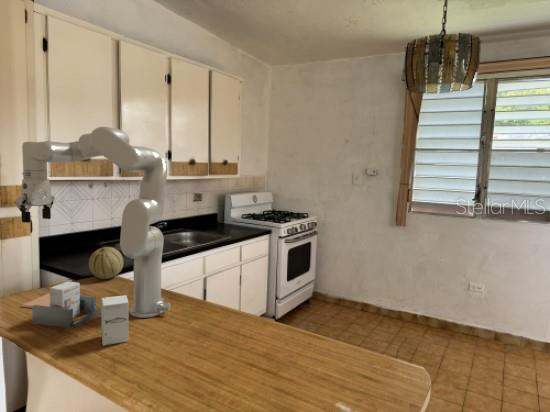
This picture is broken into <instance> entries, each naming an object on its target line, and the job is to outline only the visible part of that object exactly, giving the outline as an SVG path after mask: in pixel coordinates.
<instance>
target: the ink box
mask: <svg viewBox="0 0 550 412" xmlns="http://www.w3.org/2000/svg"><path fill="white" fill-rule="evenodd" d="M80 287H81V284H80V282H76V281H69V280H67V281H65V282H61V283H59V284H56V285H54V286H51V287H50V289H49V293H50V306H51V307H60V308H69V309H73V318H75V317H77V316H79V315H80V314H81V312H80V295H81V290H80V289H81V288H80Z"/></svg>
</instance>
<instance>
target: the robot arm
mask: <svg viewBox="0 0 550 412" xmlns="http://www.w3.org/2000/svg"><path fill="white" fill-rule="evenodd" d="M130 142H131V141H130V138H129V135H128V134H127V132H126V131H123V130H122V129H119V128H115V127H114V128H113V127H109V126H100V127H96V128H94V129H93V130H92V131H91V132H90V133H83V134H81V135H80V137H79V138H78V141H73V142H72V141H71V142H60V141H59V142H58V141H24V142H23V143H22V147H21V149H22V174H21V175H22V179H21V180H22V182H21V187H20V196H19V197H18V198H16V199H15V200H14V202H15V204H16V207H17V208H18V209H19V212H21V213H20V214H21V222H22V223H28V224H29V223H31V221H32V220H31V211H30V210H31V208H32V207H39V206H40V207H41V206H42V210H41V213H42V214H41V215H42V219H43V220H51V218H52V212H51V211H52V210H51V209H53V205H54V201H55V199H56V197H55V196H54V195H52V187H51V183H50V180H49V178H48V163H62V164H63V163H66V164H67V163H75V162H80V161H85V160H89V159H91V158H96V157H102V156H103V157H104V158H105V159H107V160H108V161H110V162H111V163H113V164H114V165H115V166H117V167H118V168H120V169H122V170H123V171H126V172H143V176H142V179H141V181H140V185H139V194H138V195H139V196H138V198H136V199H135V198H134V199H132V200H130V201H128V203H126V205H125V207H124V208H123V211H122V215H121V216H122V217H121V228H120V238H119V246H120V250H121V252H122V253H123V255H124V256H126V257H127V258H128V259H133V260H134V261H133V305H132V306H131V307H130V308H129V315H130V316H132V317H134V318H138V319H139V318H141V319H142V318H143V319H146V318H147V319H149V318H154V317H158V316H160V315H162V314H163V313H165V311H170V310H171V307H172V305H171V302H165V299H164V297H162V258H163V250H164V243H165V241H164V240H165V239H164V235H163V232H162V231H161V229H159V228H158V227H156V226H152V224H155V223H158V222H159V221H160V220H161V219H162V217H163V215H164V205H165V197H166V186H167V185H166V184H167V177H168V166H167V163H166V161H165V159H164V157H163V156H162V155H161V154H160V153H159V152H158V151H157V150H155V149H152V148H149V147H146V146H145V147H144V146H135V145H131V144H130Z"/></svg>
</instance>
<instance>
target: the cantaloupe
mask: <svg viewBox="0 0 550 412" xmlns="http://www.w3.org/2000/svg"><path fill="white" fill-rule="evenodd" d="M123 267H124V258H123V255H122V254H121V252H120V251H119V250H118V249H116V248H115V247H111V246H104V247H100V248H98V249H96V250H95V251H94V252H93V253H92V254H91V255H90V257H89V259H88V268H89V271H90V273H91V274H92V275H93V276H94V277H96V278H98V279H101V280H106V279H112V278H113V277H116V276H118V274H119V273H121V272H122V269H123Z"/></svg>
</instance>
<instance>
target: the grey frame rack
mask: <svg viewBox="0 0 550 412" xmlns="http://www.w3.org/2000/svg"><path fill="white" fill-rule="evenodd" d="M96 299H97V297H96V296H93V295H86V294H85V295H83V294H80V314H81V313H83V314H86V315H84V316H83V317H81V318H80V319H78V320H76V321H74V317H73V309H69V308H60V307H51V306H42V305H33V306H32V308H31V310H32V311H31V313H32V315H31V316H32V324H34V325H42V326H43V325H44V326H50V327H51V326H52V327H59V328H68V329H69V328H70V329H78V328H79V327H81V326H82V325H84V324H85V323H87V322H88V321H90V320H91V319H94V318H96V316H99V315H101V308H97V300H96Z"/></svg>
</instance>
